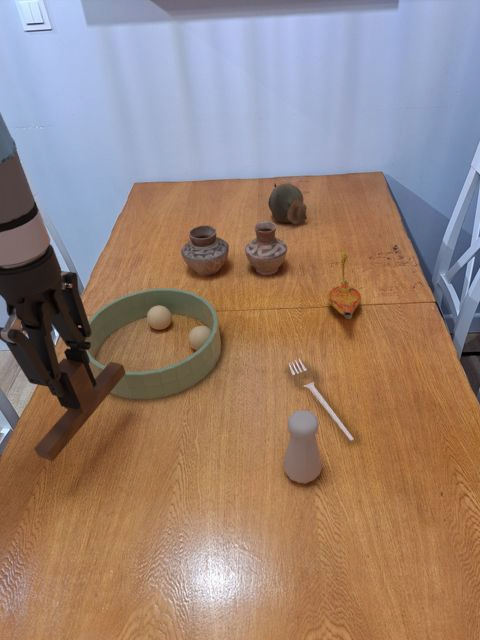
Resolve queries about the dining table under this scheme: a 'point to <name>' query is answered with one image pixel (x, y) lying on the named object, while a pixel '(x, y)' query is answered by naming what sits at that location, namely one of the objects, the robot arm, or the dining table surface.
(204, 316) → the green ring
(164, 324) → the dough ball
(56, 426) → the brown inverted t block
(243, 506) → the dining table surface
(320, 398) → the fork
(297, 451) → the salt shaker
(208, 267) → the pair of painted pots
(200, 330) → the dough ball
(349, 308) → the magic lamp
